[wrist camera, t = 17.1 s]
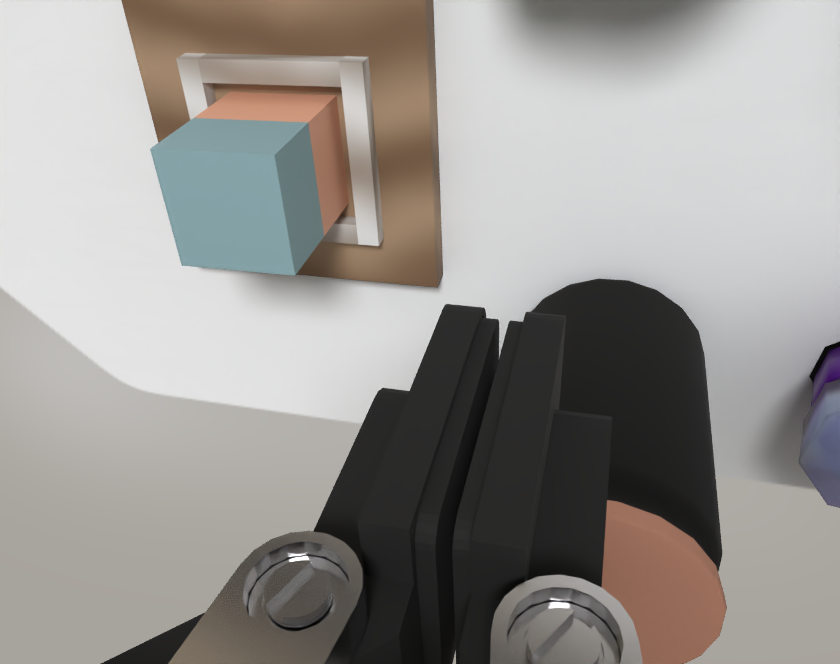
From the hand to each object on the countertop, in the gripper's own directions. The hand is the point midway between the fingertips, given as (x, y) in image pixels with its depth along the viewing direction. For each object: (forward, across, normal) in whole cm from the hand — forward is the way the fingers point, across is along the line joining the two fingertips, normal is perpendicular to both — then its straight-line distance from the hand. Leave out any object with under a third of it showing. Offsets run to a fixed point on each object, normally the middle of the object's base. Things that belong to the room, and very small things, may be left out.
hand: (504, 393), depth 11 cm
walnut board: (+29, +16, +8) cm, 34 cm away
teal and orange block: (+28, +16, +8) cm, 33 cm away
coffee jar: (+29, -2, +20) cm, 36 cm away
